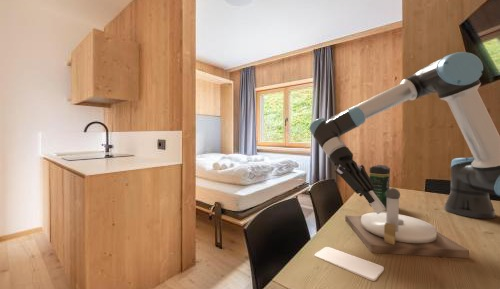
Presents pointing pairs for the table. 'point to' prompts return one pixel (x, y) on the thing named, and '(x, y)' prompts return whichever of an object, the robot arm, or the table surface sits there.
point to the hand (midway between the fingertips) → (381, 211)
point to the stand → (389, 245)
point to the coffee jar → (380, 181)
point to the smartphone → (350, 263)
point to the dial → (398, 222)
